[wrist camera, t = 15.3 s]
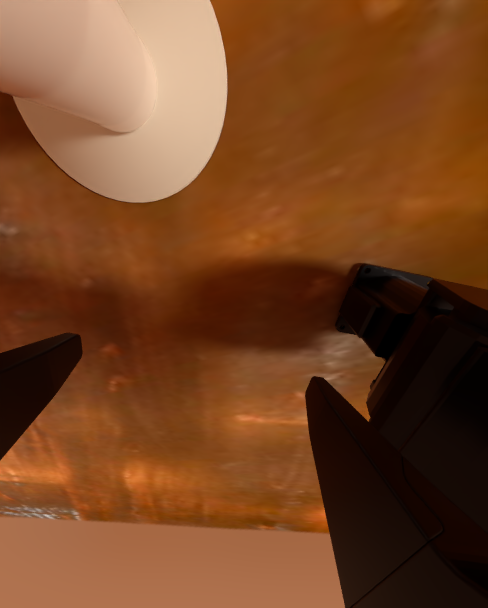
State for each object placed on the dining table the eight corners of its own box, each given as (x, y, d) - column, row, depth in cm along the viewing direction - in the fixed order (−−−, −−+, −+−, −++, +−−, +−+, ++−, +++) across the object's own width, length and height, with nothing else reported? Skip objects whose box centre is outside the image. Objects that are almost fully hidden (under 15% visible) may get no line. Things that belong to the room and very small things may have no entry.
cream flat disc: (247, -55, 12) (247, -61, 12) (211, 219, 18) (210, 220, 18) (-31, -137, 11) (-38, -145, 11) (26, 180, 17) (23, 180, 17)
